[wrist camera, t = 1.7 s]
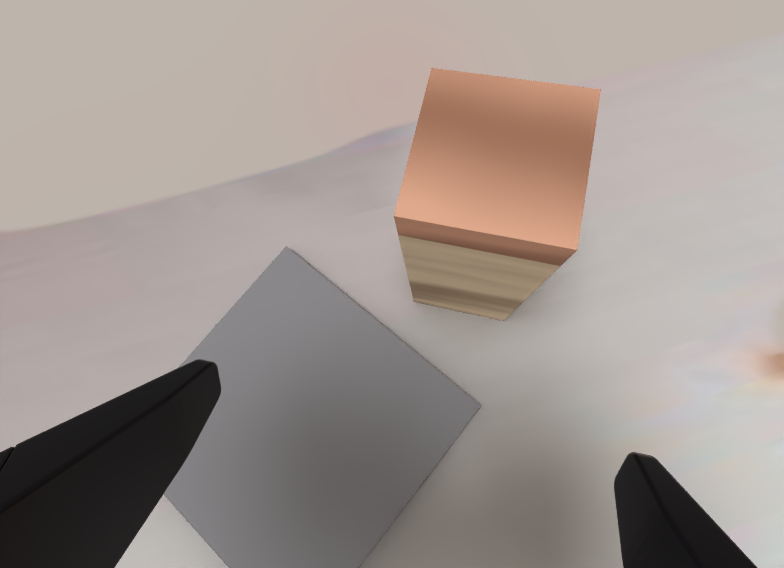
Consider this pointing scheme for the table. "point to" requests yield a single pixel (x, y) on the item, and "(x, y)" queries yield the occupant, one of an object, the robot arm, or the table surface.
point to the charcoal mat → (311, 427)
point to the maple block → (493, 189)
